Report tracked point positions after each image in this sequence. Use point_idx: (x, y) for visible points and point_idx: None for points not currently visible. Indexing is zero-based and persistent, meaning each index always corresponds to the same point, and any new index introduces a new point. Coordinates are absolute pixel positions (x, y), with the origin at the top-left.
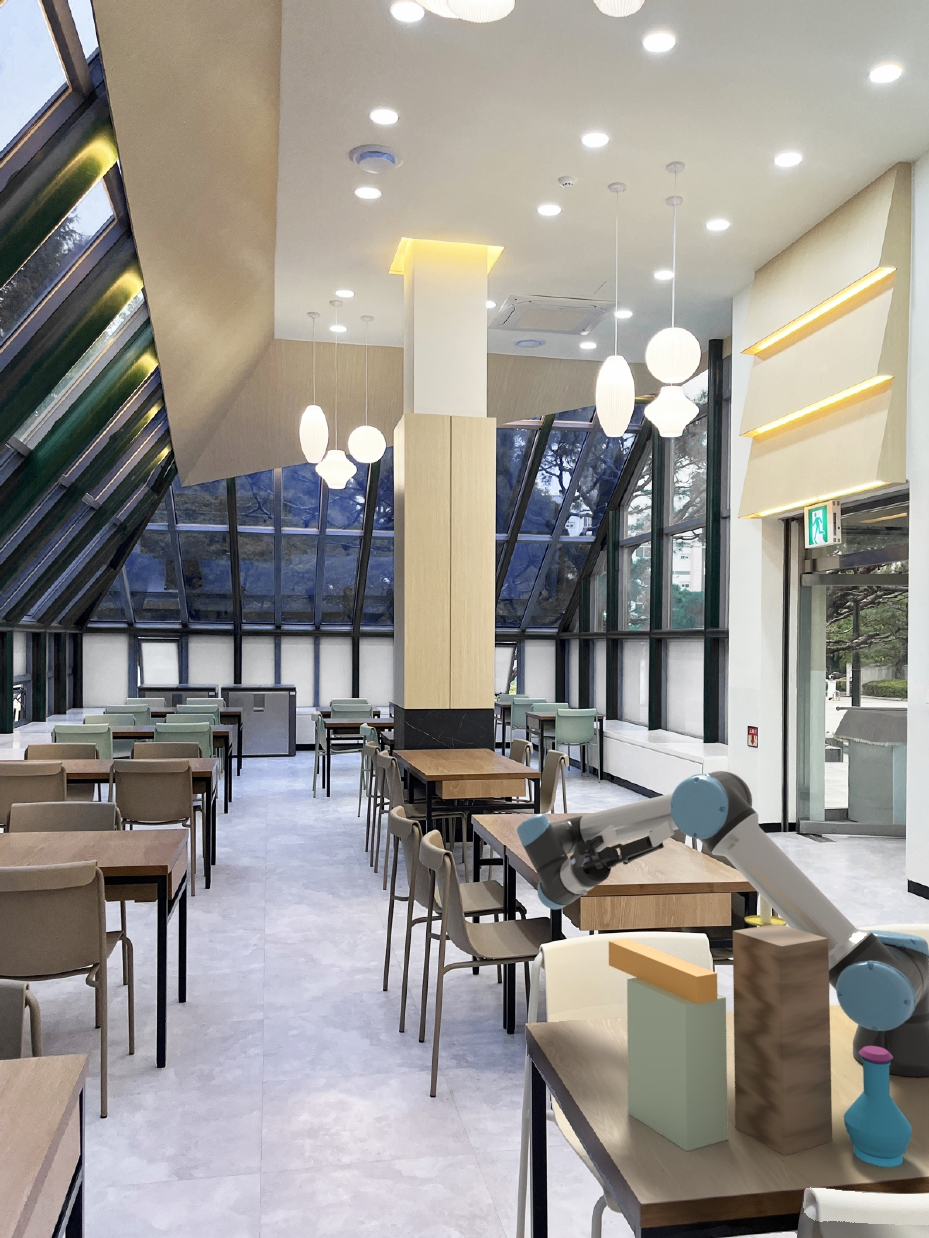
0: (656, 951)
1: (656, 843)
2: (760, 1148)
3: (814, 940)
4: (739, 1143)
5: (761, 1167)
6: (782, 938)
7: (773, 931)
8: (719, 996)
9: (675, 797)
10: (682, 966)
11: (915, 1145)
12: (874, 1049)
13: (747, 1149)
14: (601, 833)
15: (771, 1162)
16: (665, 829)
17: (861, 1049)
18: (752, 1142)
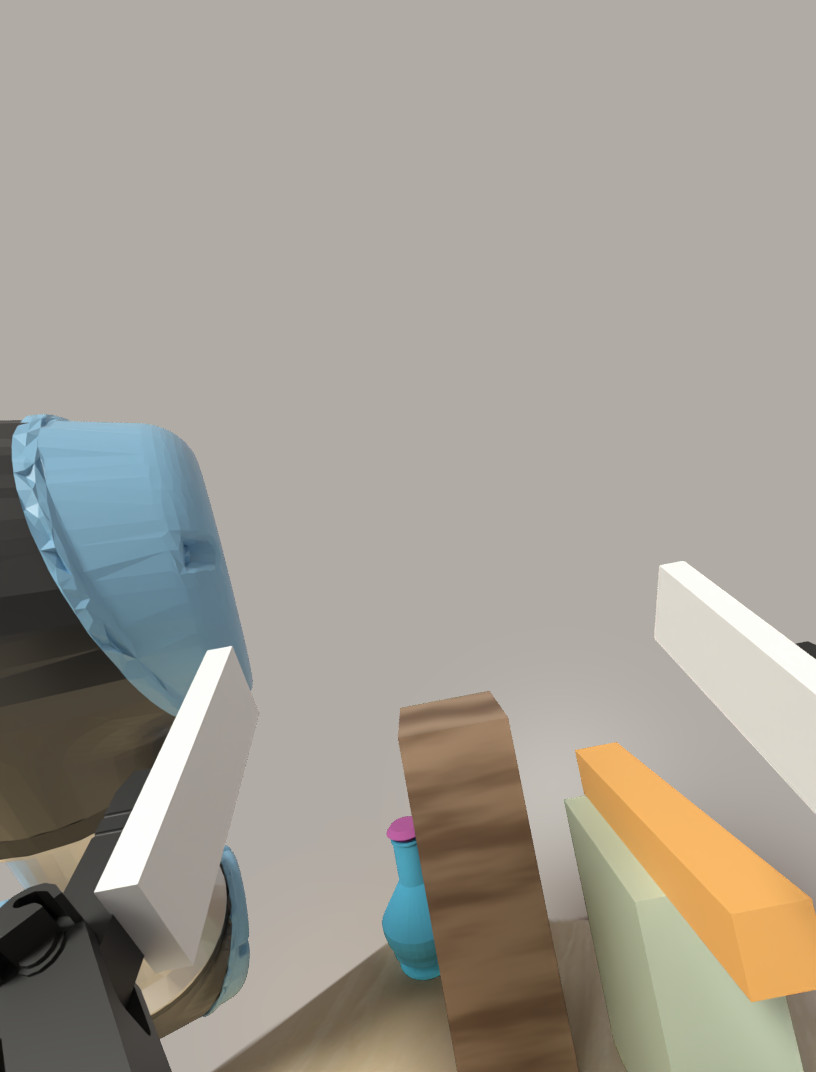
0: (654, 821)
1: (212, 884)
2: (571, 1004)
3: (425, 703)
4: (598, 1025)
5: (595, 962)
6: (460, 704)
7: (444, 718)
8: (572, 803)
9: (209, 506)
10: (623, 767)
11: (364, 964)
12: (403, 825)
13: (593, 1006)
14: (768, 637)
15: (574, 969)
16: (234, 709)
17: (413, 831)
18: (575, 1023)
